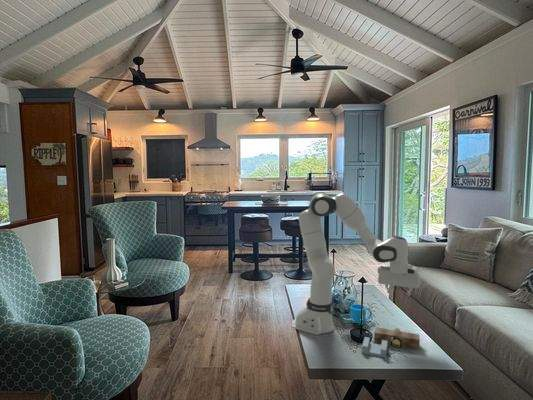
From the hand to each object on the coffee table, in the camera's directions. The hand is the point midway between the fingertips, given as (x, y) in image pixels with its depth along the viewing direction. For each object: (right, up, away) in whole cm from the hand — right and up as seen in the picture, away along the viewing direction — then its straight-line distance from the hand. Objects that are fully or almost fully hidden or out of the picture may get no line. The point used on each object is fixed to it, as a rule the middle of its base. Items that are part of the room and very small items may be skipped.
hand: (398, 293), depth 177 cm
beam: (-5, -21, -11) cm, 24 cm away
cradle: (-18, -22, -18) cm, 33 cm away
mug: (-16, -19, +14) cm, 28 cm away
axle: (-4, -21, -9) cm, 23 cm away
